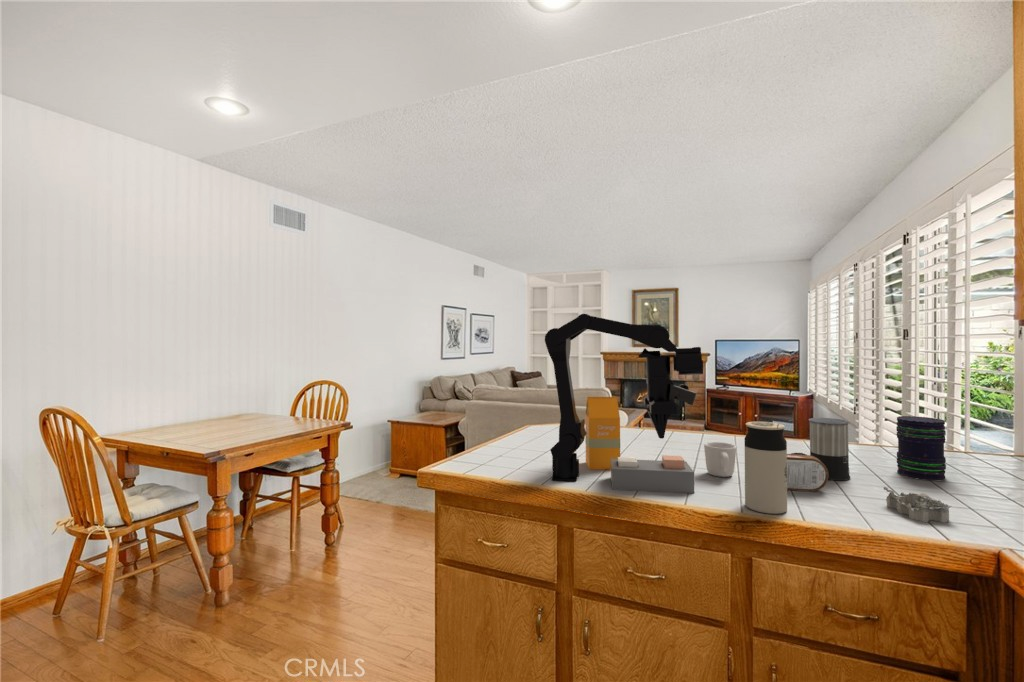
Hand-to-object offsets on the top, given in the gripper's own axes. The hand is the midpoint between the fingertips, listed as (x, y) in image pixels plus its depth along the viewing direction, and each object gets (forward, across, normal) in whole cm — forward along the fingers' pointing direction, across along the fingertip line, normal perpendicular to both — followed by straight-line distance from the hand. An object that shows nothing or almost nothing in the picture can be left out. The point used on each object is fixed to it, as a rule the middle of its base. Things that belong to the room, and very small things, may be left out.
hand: (661, 438), depth 117 cm
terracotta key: (+9, 0, -2) cm, 9 cm away
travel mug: (+13, -13, -19) cm, 26 cm away
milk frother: (+13, +20, -42) cm, 48 cm away
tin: (+13, +2, -30) cm, 33 cm away
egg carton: (+14, -10, -49) cm, 52 cm away
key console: (+12, 0, +3) cm, 12 cm away
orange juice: (+12, +17, +15) cm, 25 cm away
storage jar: (+14, +21, -68) cm, 73 cm away
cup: (+13, +11, -16) cm, 23 cm away
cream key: (+9, 0, +9) cm, 13 cm away
